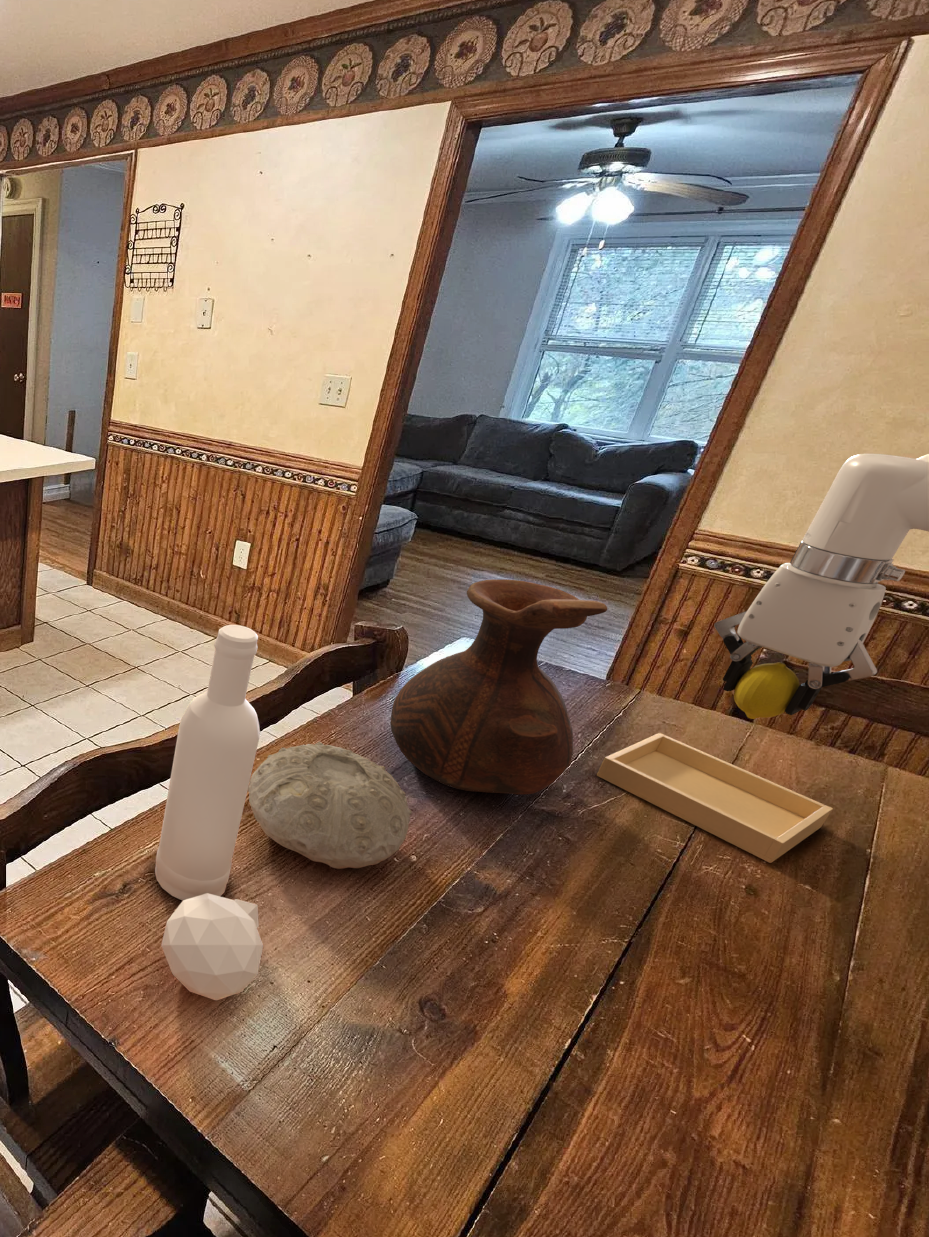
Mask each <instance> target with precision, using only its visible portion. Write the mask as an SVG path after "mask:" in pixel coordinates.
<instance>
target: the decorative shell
mask: <svg viewBox="0 0 929 1237" xmlns="http://www.w3.org/2000/svg"><path fill="white" fill-rule="evenodd" d="M247 793H248V802H249V806H250V808H251V810H252V813H253V817H254V819H255V820H256V822H257V823H258V824H259V826H260V828H261V831H262V832H263V833H264V834H265V835H266V836H267V837H269V838H270V839H271V840H273V841H274V842H275V843H276V844H278V845H280V846H282V847H283V848H286V849H288V850H291V851H292V852H293V851H294V852H296V853H298V854H299V855H302V856H303V857H305V858H307V859H309V860H311V861H312V862H318V863H323V864H325V865H327V866H329V867H330V868H333V869H338V870H339V869H347V868H352V869H360V868H361V869H362V868H364V867H368V866H371V865H372V866H375V865H378V864H379V863H381V862H384V861H386V860H387V859H389V858H390V857H392V856H393V855H394V854H395V853H397V852H398V851H399V850H400V848H401V846H402V845H403V843H404V841H405V840H406V836H407V834H408V831H409V824H410V822H411V818H410V817H411V815H412V813H413V811H412V810H411V809H410V808H409V806H408V800H407V796H406V792H405V791H404V790H403V789H402V788H401V787H400V785H399V783H398V782H397V781H396V779H395V778H394V777H393V775H392V774H390V773H389V772H388V771H387V770H386V766H385V765H378V764H377V763H376V762H374V761H371V759H369V758H367V757H365V756H362V755H360V754H358V753H356V752H353V751H352V750H351V749H346V748H343V747H340V746H334V745H331V744H324V743H322V742H321V741H318V742H316V743H315V744H313V743H307V744H300V745H296V746H290V747H287V748H286V747H280V749H279V750H278V752H276V753H273V754H268V755H267V758H266V759H265V760H264V761H263V762H261V763H260V765H258V767H256V769H255V771H254V772H253V773H251V777H250V782H249V786H248V791H247Z"/></svg>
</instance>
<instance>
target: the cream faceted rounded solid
mask: <svg viewBox="0 0 929 1237" xmlns="http://www.w3.org/2000/svg"><path fill="white" fill-rule="evenodd" d="M259 923H260V922H259V906H258V904H256V903H253V902H250V901H246V900H242V899H238V898H235V899H231V898H228V897H224V896H216V895H212V894H209V893H206V894H203V895H200V896H196V897H193V898H190V899H186V900H181V902H180V903H179V905H178V906H177V907H176V909H175V910H174V911H173V913H172V914H171V915H170V917H169V918H168V919H167V921H166V924H165V928H164V932H163V936H162V941H161V945H160V946H161V949H162V952H163V954H164V956H165V959H166V962H167V964H168V967H169V970H170V971H171V974H172V976H173V977H175V979H177V980H178V982H180V983H181V984H182V985H183V987H184V988H186V990H188V992H190V993H193V994H196V995H199V996H202V997H205V998H208V999H210V1000H213V1001H219V1000H222V999H225V998H228V997H231V996H234V995H237V994H239V993H242V992H243V991H244V990H245V989H246V988H247V987H248V985H250V983H252V981H253V980H254V979H255V978H256V977H257V976H259V970H260V965H261V959H262V955H263V949H264V943H263V941H262V938H261V935H260V933H259V930H258V928H259V927H260V924H259Z"/></svg>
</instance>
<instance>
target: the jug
mask: <svg viewBox="0 0 929 1237" xmlns="http://www.w3.org/2000/svg"><path fill="white" fill-rule="evenodd" d="M466 596H467V598H468V600H469V601H470V602H471V604H473V605H474V606H476V607H477V608H479V609H481V610H482V621H481V624H480V627H479V630H478V633H477V634H476V637H475V639H474V640H473V642H472V643H471V644H470V645H469V646H468V647H467V648H466V649H465V650H463V651H460V652H457V653H453V654H451V655H449V656H446V657H443V658H441V659H438V660H436V661H435V662H433V663H431V664H429V665H428V666H426V667H425V668H423V669H422V670H420V671H419V672H418V673H416V674H415V675H414V676H413V677H412V678H410V679H409V680H408V681H407V682H406V683H405V684H404V685H403V686H402V688H400V690H399V691H398V693H397V695H396V696H395V698H394V700H393V704H392V707H391V712H390V731H391V734H392V737H393V738H394V741H395V743H396V745H397V747H398V749H399V750H400V752H401V753H402V755H404V757H405V758H406V760H408V761H409V762H410V763H411V764H412V765H413V766H415V768H417V769H418V770H419V771H420V772H422V773H423V774H424V775H426V776H427V777H429V778H431V779H432V780H434V781H436V782H438V783H440V784H442V785H444V786H447V787H449V788H453V789H457V790H461V791H466V792H475V793H490V794H493V793H494V794H511V795H531V794H532V795H533V794H535V793H538V792H540V791H542V790H544V789H545V788H547V787H548V786H550V785H551V784H553V783H554V782H556V781H557V780H558V779H559V778H560V777H561V776H562V775H563V773H564V772H565V771H566V770H567V769H568V768H569V766H570V765H571V762H572V758H573V754H574V730H573V725H572V722H571V719H570V714H569V711H568V708H567V705H566V702H565V700H564V698H563V696H562V693H561V691H560V690H559V689H558V687H557V685H556V683H555V682H554V681H553V680H552V678H551V676H549V675H548V674H547V672H545V671H544V670H543V669H542V668H541V667H540V666H539V664H538V654H539V650H540V648H541V645H542V643H543V641H544V640H545V638H546V637H548V635H549V634H550V633H551V632H552V631H553V630H566V629H573V628H578V627H580V626H582V625H583V624H584V623H585V622H586V621H587V618H588V617H592V616H597V615H601V614H604V613H606V612H608V606H607V605H606V604H605V603H604V602H601V601H597V600H590V599H580V598H578V597H576V596H575V595H573V594H571V593H569V592H566V591H564V590H561V589H559V588H556V587H552V586H548V585H544V584H539V583H535V582H530V581H526V580H519V579H510V578H509V579H508V578H507V579H505V578H504V579H502V578H501V579H500V578H499V579H498V578H497V579H495V578H494V579H483V580H479V581H476V582H473V583H472V584H470V585H469V586H468V589H467V591H466Z"/></svg>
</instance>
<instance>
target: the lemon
mask: <svg viewBox="0 0 929 1237" xmlns="http://www.w3.org/2000/svg"><path fill="white" fill-rule="evenodd" d="M799 686H800V680H799V678H798V676H797V675H796V673H795V672H794V671H793V670H792V669H791V668H788V667H787V666H786V664H785V663H784V662H780V661H778V662H774V663H773V662H772V663H770V662H768V663H767V662H766V663H761V664H758V665H757V664H756V665H754V666H753V667H751V668H750V669H749V670H748V671H747V672H746V673H745V674H744V675H743V676H742V677H741V678H740V679H739V681H738V682H737V684H736V687H735V690H733V700H734V702H735V704H736V706H737V707H738V709H740V711H742V712H744V713H745V715H746V717H747V719H750V720H755V719H759V718H763V719H766V718H773V717H777V716H779V715H782V714H784V713H785V712H784V711H785V709H786V708H787V706H788V704H789V702H790V701H791V699H792V697H793V696H794V694H795V692H796V690H797V689H798V687H799Z"/></svg>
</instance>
